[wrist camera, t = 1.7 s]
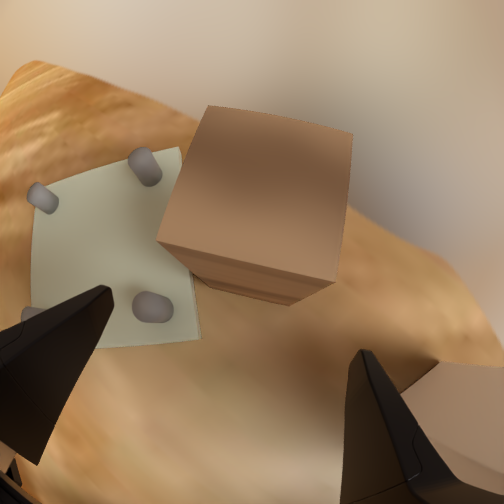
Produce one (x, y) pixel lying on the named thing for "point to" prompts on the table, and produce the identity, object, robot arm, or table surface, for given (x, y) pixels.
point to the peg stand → (114, 249)
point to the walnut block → (260, 205)
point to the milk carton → (464, 420)
